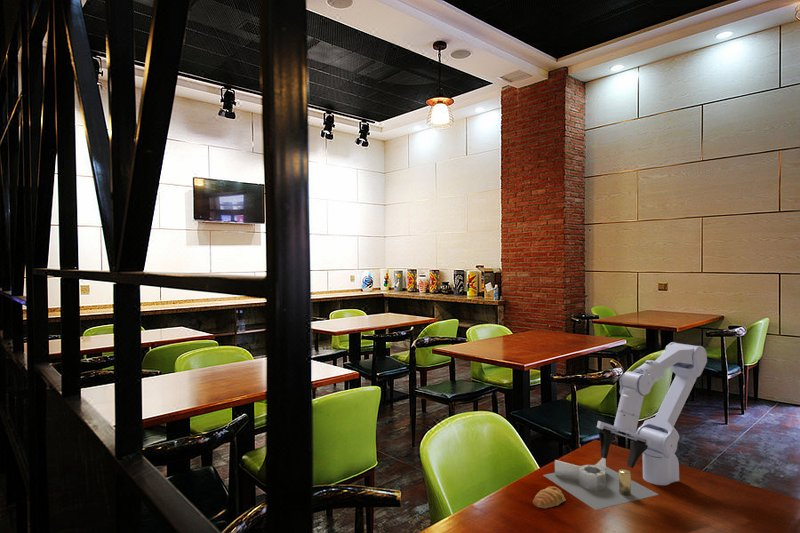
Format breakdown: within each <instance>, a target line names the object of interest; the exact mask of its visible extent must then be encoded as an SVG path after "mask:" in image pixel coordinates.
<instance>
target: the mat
mask: <svg viewBox="0 0 800 533" xmlns="http://www.w3.org/2000/svg"><path fill="white" fill-rule="evenodd" d="M596 464H597V463H595V464H593V465H594V466H595V465H596ZM542 476H543V477H545V478H546V479H547V480H549V481H551V482H553V483H554V484H556V485H557V486H559V488H561V489H563V490H565V492H567V493H568V494H570V495H572V496H573V497H575V498H576V499H578V500H579V501H581V502H582V503H584V504H585V505H587V506H588V507H590V509H593V510H594V511H597V510H602V509H606V508H610V507H614V506H618V505H621V504H626V503H631V502H635V501H638V500H643V499H646V498H651V497H655V496H659V493H657V492H655V491H653V490H651V489H649V488H647V486H646V487H645V486H643V485H642V484H640V483H638V482H637V481H634V480H633V479H631V495H630V496H624V495H621V494H620V493H619V472H618V471H615V470H613V469H611V468H610V467H609V466H606V473H605V479H606V486H605V490H602V491H598V492H596V491H591V490H586V489H584V488H583V487H581V486H580V485H579V482H576V481H572V480H569V479H565V478H562V477H558V476H555V472H551V473H546V474H543V475H542Z"/></svg>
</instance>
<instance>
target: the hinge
mask: <svg viewBox="0 0 800 533" xmlns="http://www.w3.org/2000/svg"><path fill="white" fill-rule="evenodd" d="M606 460H607V458H606V459H605V458H602V457H601V459H600V460H599V461H597V463H595V464H596V465H595V464H584V465H577V464H574V463H569V462H567V461H566V462H565V461H563V460H562V461H561V460H557V459H554V473H555V476H558V477H562V478H565V479H569V480H572V481H576V482H579V485H580V486H581V487H583V488H584V489H586V490H591V491H596V492H598V491H602V490H605V486H606V479H605V473H606V467H607V465H606V464H607V463H606V462H607V461H606ZM594 465H595V466H594Z"/></svg>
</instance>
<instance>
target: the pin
mask: <svg viewBox="0 0 800 533" xmlns="http://www.w3.org/2000/svg"><path fill="white" fill-rule="evenodd" d="M618 473H619V493H620V494H621V495H624V496H630V495H631V480H632V479H631V478H632V476H631V475H632V474H631V471H630V470H627V469H619V470H618Z"/></svg>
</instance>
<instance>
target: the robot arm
mask: <svg viewBox="0 0 800 533" xmlns="http://www.w3.org/2000/svg"><path fill="white" fill-rule="evenodd" d="M707 355H708V353H707V350H706V348H704V346H702V345H691V344H686V343H685V344H684V343H679V342H675V341H672V342H670V343H668V344H667V345H666V346H665V348H664V352H663V353H661V355H659V356H658V357H657V358H656V359H655V360H650V359H647V360H645V362H643V364H641V365H640V366H638V367H637V368H635V369H634V370H632V371H630V370H629V371H626V372H624V373H622V375H621V377H619V386H620V387H619V394H620V397H619V402H618V405H617V406H618V407H617V410H616V414H615V419H614V422H613V423H614V424H613V425H612V424H610V423H607V422H603V421H600V420H597V422H596V423H597V425H596V428H598V430H597V434H598V436H599V437H598V438H599V442H600V458H601V459H602V458H605V459H606V460H607V458H608V454H609V450H610V446H611V443H612V441H613V439H614V437H615V434H616V435H617V436H621V437H624V438H627V439H630V441H629V442H630V443H629V444H630V445H629V455H628V458H627V466H628V467H629V468H631V469H633V468H634V467H635V465H636V464H637V461H638V460H639V458H640V457H641V456H642V478H643V480H644V481H646V482H647V483H649V484H651V485H656V486H668V485H670V484H672V483H675V482H680V467H679V466H680V463H679V459H678V457H677V455H676V454H675V453H676V451H677V449H678V444H679V443H678V442H679V440H680V435H679V433H678V430H677V429H676V428H675V425H676V422H677V420H678V418H679V416H680V415H681V412H682V410H683V408H684V406H685V403H686V401H687V399H688V398H689V396H690V393H691V391H692V389H693V387H694V384H695V383H696V381H697V378H698V377H700V376H701V375H702V374H703V371H704V369H705V367H706V365H707V363H708V356H707ZM667 369H670V371H671V372H673V373H674V374H675V376H674V379H673V380H672V383H671V385H670V386H669V389H668V391H667V393H666V394H665V397H664V398H663V400H662V402H661V405H660V407H659V408H658V409H657V410H658V411H657V412H656V414H655V417H652V418H649V419H645V420H644V421H643V424H641V425H640V426H639V427H638V424H639V419H640V414H641V411H642V406H643V403H644V398H645V396H646V395H649V394H650V392H651V390H652V388H653V386H654V384H655V383H656V382H658V380H660V379H661V378H663V377H664V375H665V374H664V373H665V370H667ZM620 432H621V433H620ZM622 433H624V434H622ZM626 434H627V435H626Z"/></svg>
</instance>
